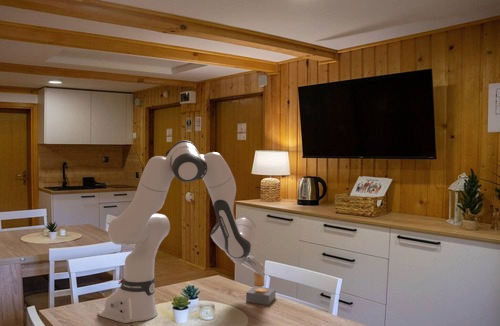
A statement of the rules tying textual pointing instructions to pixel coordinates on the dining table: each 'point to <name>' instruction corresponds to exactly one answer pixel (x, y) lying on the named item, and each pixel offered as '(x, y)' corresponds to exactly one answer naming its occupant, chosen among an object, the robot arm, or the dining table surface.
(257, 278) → the orange bottle
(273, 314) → the dining table surface
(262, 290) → the grey square platform
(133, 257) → the robot arm
